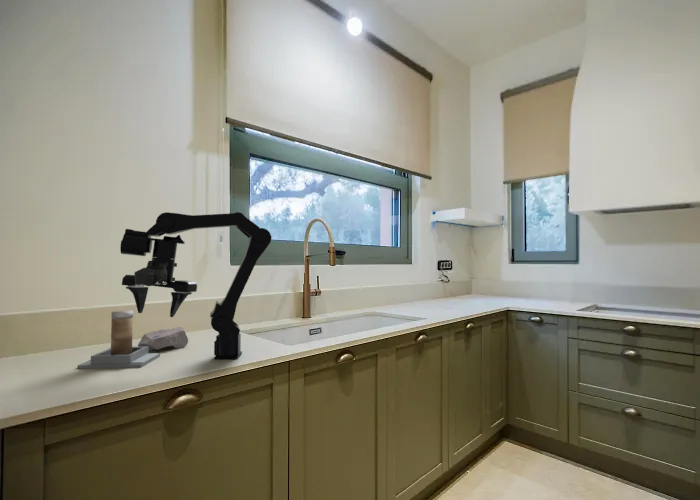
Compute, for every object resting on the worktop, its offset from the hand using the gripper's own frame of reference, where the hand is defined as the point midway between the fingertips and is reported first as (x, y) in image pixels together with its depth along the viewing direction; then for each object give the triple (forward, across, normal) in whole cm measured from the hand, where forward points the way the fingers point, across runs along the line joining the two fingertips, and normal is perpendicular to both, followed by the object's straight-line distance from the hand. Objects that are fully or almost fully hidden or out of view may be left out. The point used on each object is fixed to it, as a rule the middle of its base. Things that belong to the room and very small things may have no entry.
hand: (155, 315), depth 101 cm
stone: (+13, -6, +16) cm, 22 cm away
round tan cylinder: (+13, -9, +1) cm, 16 cm away
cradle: (+14, -8, +1) cm, 16 cm away
